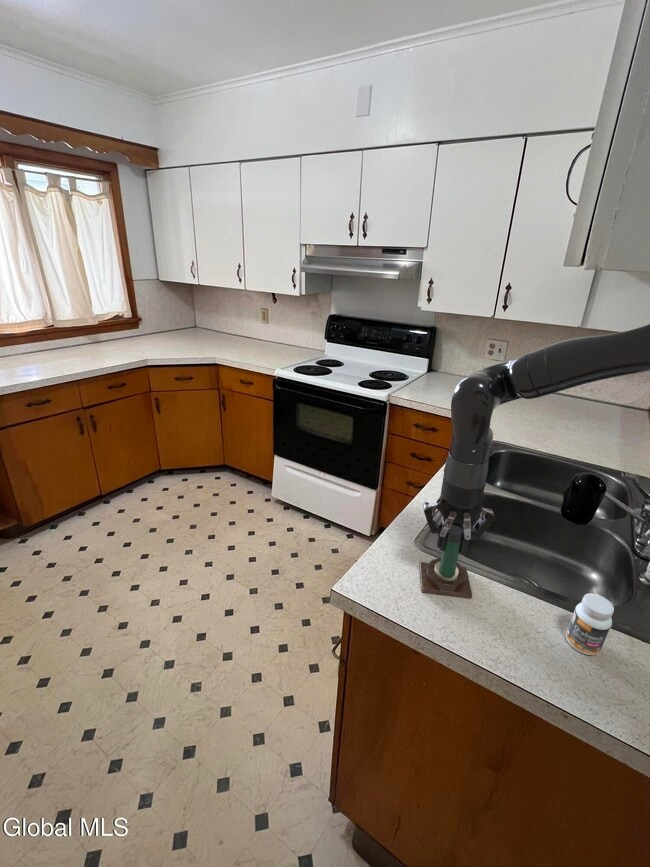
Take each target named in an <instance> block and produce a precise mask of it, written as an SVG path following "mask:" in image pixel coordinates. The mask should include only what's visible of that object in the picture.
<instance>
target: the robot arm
mask: <svg viewBox="0 0 650 867" xmlns="http://www.w3.org/2000/svg"><path fill="white" fill-rule="evenodd" d="M646 372H650V323H648V324H646V325H643V326H639V327H637V328H633V329H628V330H624V331H619V332H614V333H608V334H598V335H590V336H589V335H588V336H580V337H574V338H570V339H569V338H568V339H565V340H561V341H558V342H555V343H551V344H549V345H547V346H544V347H541V348H539V349H536V350H533V351H530V352H528V353H525V354H522V355H521V356H518V357H517V358H514V359H510V360H507V361H502V362H499V363H496V364H492V365H489V366H486V367H483V368H481V369H478V370H476V371H475V372H473V373H471V374H469V375H468V376H466V377H464V378H463V379H462V380H460V381H459V382H458V383H457V384H456V385H455V387H454V390H453V391H452V392H453V393H452V397H451V403H450V416H451V417H450V419H451V430H452V432H451V437H450V443H449V450H448V454H447V457H446V460H445V465H444V467H443V476H442V482H441V489H440V495H439V498H437V500H436V502H433V503H429V502H427V501H424V502H423V504H422V507H423V513H424V516H425V519H426V522H427V525H428V528H429V531H430V533H431V534H433V535H434V534H436V535H437V536H436V547H437V549H439V552H442V551H444V547H445V542H446V534H447V532H448V529H450V527H451V525H455V524H458V525H462V530H463V535H462V540H461V545H460V550H459V554H464V552H467V551H468V548H469V543H470V540H471V539H472V538H476V539H480V538H481V537H482V536H483V534H484V533H485V532H486V531H487V530H488V528H489V527H490V526H491V524H493V522H494V521H495V519H496V516H495V513H494V511H493V508H491V507H489V508H486V507H483V505H482V501H483V498H484V493H485V488H486V483H487V478H488V474H489V465H490V464H489V463H490V457H491V452H492V448H493V442H494V431H493V429H492V428H491V423H492V422H491V421H492V416H493V413H494V410H495V409H496V408H497V407H498V406H501V405H504V404H506V403H509V402H513V401H517V400H521V399H524V400H532V399H538V398H543V397H545V396H549V395H552V394H556V393H559V392H562V391H566V390H569V389H571V388H572V389H573V388H575V387H579V386H583V385H587V384H591V383H594V382H598V381H603V380H607V379H613V378H617V377H623V376H629V375H634V374H639V373H646ZM437 510H438V512H439V513H440V515H441V520H440V522H439V524H438V523H436V519H435V515H436V511H437ZM478 516H479V518H478V520H477V521H476V522H475V523H474V524H473V526H472V525H471V524H472V521H474V520H475V518H477V517H478Z"/></svg>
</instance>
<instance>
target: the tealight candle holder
mask: <svg viewBox="0 0 650 867" xmlns="http://www.w3.org/2000/svg"><path fill="white" fill-rule="evenodd" d="M440 561H441V557H437V558H434V559H431V560H430V561H429V562H426V561H425V562H424V561H420V562H419V576H420V589H421V594H425V595H426V594H427V595H436V596H442V597H452V598H453V597H454V598H461V599H469V600H471V599H472V598H473V592H472V591H473V590H472V588H471V583H470V578H469V574H468V569H467V566H462V565H461V564H460V563H459V562H457V565H456V567H457V568H458V570H459V574H458V579H457V580H454V581H445V580H442V579H440V578H438V577H437V576H436V575H435V574H434V573H433V572H434V566H435V564H436V563H438V562H440Z"/></svg>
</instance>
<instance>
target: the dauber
mask: <svg viewBox="0 0 650 867" xmlns="http://www.w3.org/2000/svg"><path fill="white" fill-rule="evenodd" d="M462 535H463V528H462V527H460V526H458V525H455V524H452V525H451V527H450V529H448V532H447V534H446V542H445V547H444V551H441V557H440V558H441V562H440V568H439V573H440V574H441V575H442V576H443V577H446V578H452V577H454V575H455V571H456V565H457V563H458V559H459V556H460V555H459V554H460V553H459V550H460V545H461V540H462Z"/></svg>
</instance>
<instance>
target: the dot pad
mask: <svg viewBox="0 0 650 867" xmlns="http://www.w3.org/2000/svg"><path fill="white" fill-rule="evenodd" d="M440 562H441V561H440ZM440 562H438V563H436V564H435V566H434V572H433V573H434V574H435V575H436V576H437V577H438V578H440V579H442V580H445V581H454V580H457V579H458V574H459V570H458V568H457V567H456V571H455V575H454V577H452V578H446V577H443V576H442V575H441V574H440V573H439V568H440Z"/></svg>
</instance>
